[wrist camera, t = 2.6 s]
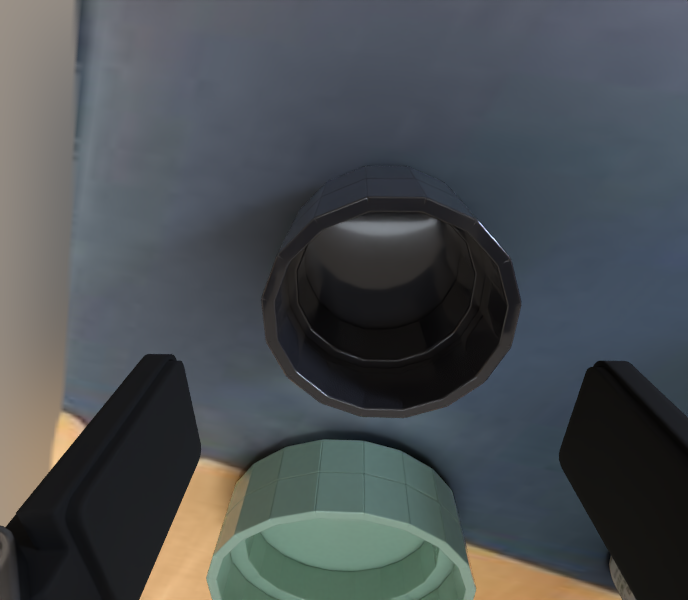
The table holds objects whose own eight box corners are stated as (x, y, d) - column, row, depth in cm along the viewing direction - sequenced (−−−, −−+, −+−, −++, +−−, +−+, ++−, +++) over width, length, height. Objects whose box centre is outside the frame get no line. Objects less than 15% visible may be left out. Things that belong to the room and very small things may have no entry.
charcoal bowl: (283, 162, 15) (249, 195, 10) (490, 163, 14) (547, 198, 10) (294, 334, 18) (273, 415, 14) (460, 337, 18) (494, 421, 13)
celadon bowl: (218, 426, 21) (184, 506, 17) (470, 434, 20) (497, 518, 16) (246, 568, 27) (226, 652, 23) (441, 576, 27) (455, 662, 23)
